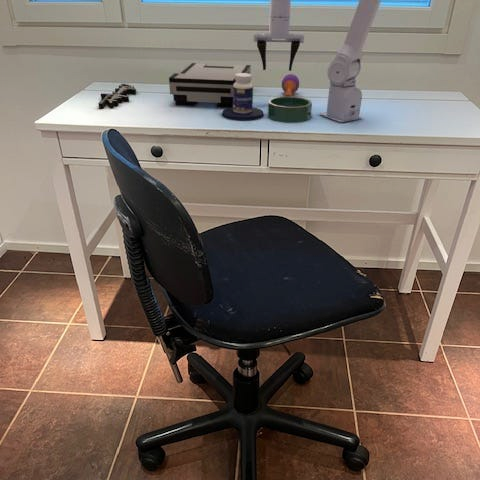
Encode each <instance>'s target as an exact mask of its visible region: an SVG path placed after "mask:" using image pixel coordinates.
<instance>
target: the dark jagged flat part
mask: <svg viewBox="0 0 480 480" xmlns="http://www.w3.org/2000/svg"><path fill="white" fill-rule="evenodd" d="M128 95H137V89H136V88H135V86H134V85H131V84H130V83H129V84H128V83H121V84H120V85H118V87H116V88H114V90H113V91H112V92H111V93H100V99H101V100H100V101H99V102H98V103H97V104H98V109H99V110H104V109H105V108H106V106H107V107H109V109H114V107H119V106H120V105H119V104H123V103H129V102H130V97H129V96H128Z"/></svg>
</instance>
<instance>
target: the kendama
mask: <svg viewBox="0 0 480 480" xmlns="http://www.w3.org/2000/svg"><path fill="white" fill-rule="evenodd" d="M281 88H282V90H283V92H284V95H283V97H293V94H296V92H297V91H299V88H300V80H299V78H298V76H297V75H296V74H294V73H289V74H286V75H285V76H284V77H283V78H282V80H281Z"/></svg>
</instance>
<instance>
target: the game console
mask: <svg viewBox="0 0 480 480" xmlns="http://www.w3.org/2000/svg"><path fill="white" fill-rule="evenodd" d="M251 71H252V65H251V64H235V65H234V66H222V65H208V63H200V62H192V63H190V64H189V65H188V66H187V67H185V68H184V69H183V70H182V71H181V72H179V73H177V72H176V73H175V72H174V73H173V74H171V76H169V77H168V84H169V86H168V87H169V94H170V95H172V98H173V102H175V106H180V107H181V106H183V107H195V106H196V105H197V104H198V103H215V104H216V108H223V109H224V108H225V109H227V108H231V107H233V85H234V83H235V82H236V80H235V74H237V73H248V74H251ZM251 75H252V74H251Z"/></svg>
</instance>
